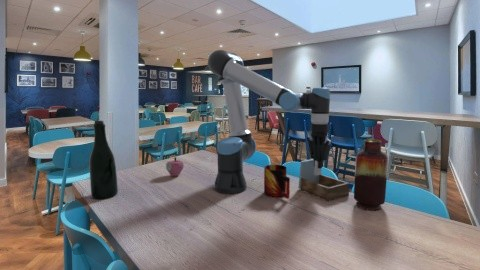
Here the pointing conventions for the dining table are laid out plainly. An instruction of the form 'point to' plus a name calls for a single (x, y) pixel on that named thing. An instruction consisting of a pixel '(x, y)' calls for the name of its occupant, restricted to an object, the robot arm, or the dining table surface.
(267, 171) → the mug
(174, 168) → the apple
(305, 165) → the pale blue square panel
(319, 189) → the crate
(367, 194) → the vase
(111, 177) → the beer bottle
